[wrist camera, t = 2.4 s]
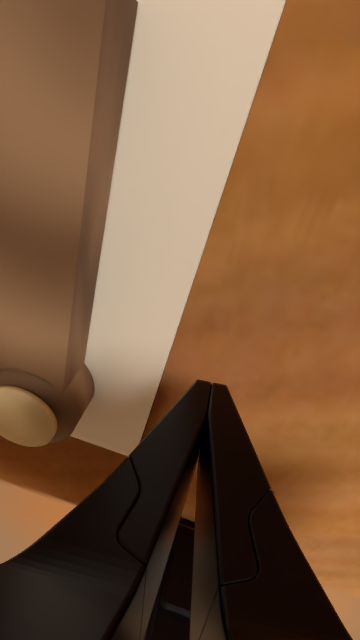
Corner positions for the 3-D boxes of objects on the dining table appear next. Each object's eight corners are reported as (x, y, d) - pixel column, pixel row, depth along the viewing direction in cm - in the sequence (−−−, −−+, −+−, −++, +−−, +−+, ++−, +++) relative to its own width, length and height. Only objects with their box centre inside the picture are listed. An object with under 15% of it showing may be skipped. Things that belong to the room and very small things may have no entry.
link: (88, 422, 17) (70, 454, 15) (8, 393, 17) (-19, 423, 15) (164, 10, 8) (141, -18, 7) (-1, -43, 8) (-64, -85, 7)
